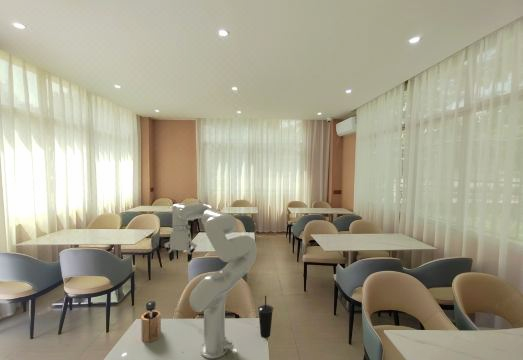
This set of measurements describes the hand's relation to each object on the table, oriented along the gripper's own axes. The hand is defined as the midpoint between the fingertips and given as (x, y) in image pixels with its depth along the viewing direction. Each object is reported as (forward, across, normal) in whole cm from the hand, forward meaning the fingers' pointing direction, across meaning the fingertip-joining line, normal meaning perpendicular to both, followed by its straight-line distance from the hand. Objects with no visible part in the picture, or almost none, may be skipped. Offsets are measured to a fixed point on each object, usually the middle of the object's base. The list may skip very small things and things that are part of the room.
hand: (180, 260), depth 134 cm
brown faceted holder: (+36, +12, +8) cm, 39 cm away
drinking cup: (+36, -44, -2) cm, 57 cm away
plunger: (+35, +12, +8) cm, 38 cm away
